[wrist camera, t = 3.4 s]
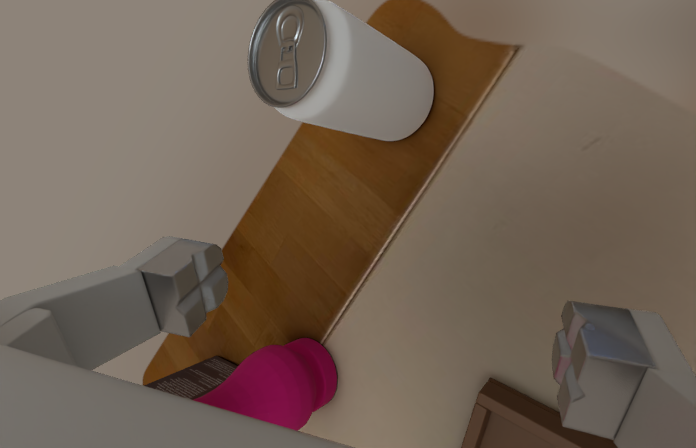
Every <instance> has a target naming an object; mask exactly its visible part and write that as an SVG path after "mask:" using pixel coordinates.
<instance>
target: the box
mask: <svg viewBox="0 0 696 448" xmlns="http://www.w3.org/2000/svg"><path fill="white" fill-rule="evenodd" d="M237 367H238V366H237V365H235V364H232V363H230V362H228V361H226V360H224V359H222V358H220V357H218V356H214V357H212V358H209V359H207V360H205V361H202V362H200V363H197V364H195V365H193V366H190V367H188V368H185V369H183V370H181V371H178V372H176V373H174V374H171V375H169V376H166V377H164V378H161V379H159V380H157V381H154V382H152V383H149V384H147V385H145V386H146V387H149V388H153V389H156V390H159V391H163V392H166V393H170V394H173V395H177V396H180V397H183V398H189V399H191V400H194V399H196V398H199V397H202V396H203V395H205V394H207V393H209V392H211V391H212V390H214V389H215V388H217V387H218V386H219V385H221V384H222V383H223V382H224V381H225V380H226V379H227V378H228V377H229V376H230V375H231V374H232V373H233V372H234V370H235V369H236V368H237Z"/></svg>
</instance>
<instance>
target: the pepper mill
mask: <svg viewBox="0 0 696 448" xmlns="http://www.w3.org/2000/svg"><path fill="white" fill-rule="evenodd" d="M336 387H337V374H336V368H335V365H334V362H333V360H332V358H331V356H330V354H329V353H328V352H327V350H326V349H325V348H324V347H323V346H322V345H321V344H320V343H318V342H317V341H315V340H313V339H310V338H300V339H297V340H295V341H293V342H290V343H288V344H286V345H284V346H281V345H269V346H266V347H263V348H261V349H259V350H258V351H256V352H254V353H252V354H251V355H250V356H248V357H247V358H246V359H245V360H244V361H243V362H242V363H241V364H240V365H239V366H238V367H237V368H236V369H235V370H234V372H233V373H232V374H231V375H230V376H229V377H228V378H227V379H226V380H225V381H224V382H223V383H222V384H221V385H219V386H218V387H217V388H215V389H214V390H212V391H211V392H209V393H207V394H205V395H203V396H202V397H199V398H196V399H194V401H197V402H200V403H204V404H207V405H211V406H214V407H218V408H221V409H224V410H228V411H231V412H235V413H238V414H242V415H245V416H248V417H252V418H255V419H259V420H262V421H265V422H269V423H272V424H276V425H279V426H283V427H286V428H289V429H293V430H296V431H297V430H299V429H300V428H302V427H303V426H304V425H305V424H306V423H307V421H308V420H309V418H310V416H311V414H312V412H314V411H316V410H317V409H319V408H321V407H322V406H324V405H325V404H327V403H328V402H329V401H330V400H331V399H332V397H333V396H334V393H335V391H336ZM187 399H189V398H187ZM190 400H191V399H190Z"/></svg>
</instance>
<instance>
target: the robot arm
mask: <svg viewBox="0 0 696 448" xmlns="http://www.w3.org/2000/svg"><path fill="white" fill-rule="evenodd" d="M223 260H224V258H223V254H222V250H221V248H220V247H219V246H217V245H215V244H210V243H205V242H199V241H193V240H188V239H182V238H176V237H163V238H161V239H159V240H158V241H156V242H155V243H153V244H152V245H150V246H149V247H147V248H146V249H145V250H143V251H142V252H140V253H139V254H137V255H136V256H134V257H133V258H131V259H130V260H128V261H127V262H125V263H124V264H122V265H121V266H119V267H118V266H112V267H108V268H105V269H102V270H98V271H95V272H91V273H88V274H85V275H81V276H78V277H75V278H71V279H68V280H64V281H61V282H57V283H54V284H51V285H47V286H44V287H41V288H37V289H34V290H30V291H27V292H24V293H20V294H17V295H14V296H10V297H7V298H4V299H3V300H1V301H0V448H354V447H351V446H348V445H344V444H341V443H337V442H334V441H330V440H327V439H324V438H320V437H317V436H313V435H310V434H306V433H303V432H300V431H296V430H293V429H289V428H286V427H283V426H279V425H276V424H272V423H269V422H265V421H262V420H259V419H255V418H252V417H248V416H245V415H242V414H238V413H235V412H231V411H228V410H224V409H221V408H218V407H214V406H211V405H207V404H204V403H200V402H197V401H194V400H190V399H187V398H183V397H180V396H177V395H173V394H170V393H166V392H163V391H159V390H156V389H153V388H149V387H146V386H142V385H139V384H135V383H132V382H128V381H125V380H122V379H118V378H115V377H111V376H108V375H105V374H101V373H98V372H94V371H91V370H93V369H95V368H96V367H99V366H100V365H102V364H104V363H106V362H108V361H110V360H111V359H113V358H115V357H117V356H119V355H121V354H122V353H124V352H126V351H128V350H130V349H132V348H134V347H135V346H137V345H139V344H141V343H143V342H145V341H146V340H148V339H150V338H152V337H154V336H156V335H158V334H159V333H160V331H162V332H167V333H172V334H177V335H182V336H187V337H190V336H191V335H192V334H193V333H194V332H195V331H196V330H197V329H198V328H199V327H200V326H201V325H202V323H203V322H204V321H205V320H206V313H207V312H209V311H211V310H214V309H216V308H217V307H218V306H219V305H220V304H221V303H222V302H223V300H224V298H225V296H226V293H227V291H228V278H227V273H226V272H225V271H224V270H223V268H222V267H221V266H220V265H221V263H222V262H223ZM561 317H562V322H563V326H564V328H563V329H562V330H560V331H559V332H557V333H556V336H555V340H554V344H553V352H552V370H553V377H554V379H555V381H556V382H557V383H558V384H559V385H560V389H559V392H558V395H557V400H558V405H559V411H560V416H561V421H562V426H563V427H566V428H570V429H574V430H578V431H582V432H585V433H589V434H593V435H597V436H600V437H604V438H608V439H612V440H614V443H615V445H616V446H617V447H618V448H696V376H695V374H694V373H693V371H692V369H691V367H690V366H689V364H688V362H687V360H686V359H685V357H684V355H683V354H682V352H681V350H680V348H679V347H678V345H677V343H676V341H675V340H674V338H673V336H672V335H671V333H670V331H669V329H668V328H667V326H666V324H665V323H664V321H663V319H662V317H661V316H660V315H659V314H657V313H656V312H650V311H642V310H635V309H627V308H625V309H623V308H616V307H609V306H602V305H595V304H588V303H581V302H575V301H567V303H566V304H565V306H564V309H563V312H562V315H561Z"/></svg>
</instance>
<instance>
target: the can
mask: <svg viewBox="0 0 696 448" xmlns="http://www.w3.org/2000/svg"><path fill="white" fill-rule="evenodd" d="M248 72H249V78H250V81H251V84H252V87H253V89H254V91H255V93H256V94H257V95H258V97H259V98H260V99H261V100H262V101H263V102H264V103H266V104H268V105H270V106H273V107H275V108H276V109H277V110H278V111H279V112H280V113H281V114H283V115H284V116H286V117H289V118H291V119H294V120H298V121H301V122H305V123H309V124H313V125H317V126H322V127H326V128H330V129H334V130H339V131H343V132H347V133H352V134H356V135H360V136H365V137H369V138H374V139H378V140H384V141H397V140H401V139H403V138H406V137H408V136H409V135H411V134H412V133H414V132H415V131H416V130H417V129H418V128H419V127H420V126H421V125H422V124H423V122H424V121H425V119H426V117H427V116H428V114H429V111H430V109H431V106H432V102H433V96H434V86H433V80H432V76H431V73H430V71H429V69H428V68H427V66H426V65H425V64H424V63H423V62H422V61H421V60H420V59H419V58H417V57H416V56H415V55H413V54H412V53H410V52H409V51H407V50H406V49H404V48H403V47H401V46H400V45H398V44H397V43H395V42H394V41H392V40H391V39H389V38H388V37H386V36H385V35H383V34H382V33H380V32H379V31H377V30H375V29H374V28H372V27H371V26H369V25H368V24H366V23H365V22H363V21H362V20H360V19H358V18H357V17H355V16H354V15H352V14H351V13H349V12H348V11H346V10H344V9H343V8H341V7H340V6H338V5H336V4H335V3H333V2H331V1H328V0H275V1H273V2H272V3H271V4H270V5H269V6H268V7H267V8H266V9H265V11H264V12H263V13H262V15H261V16H260V18H259V20H258V21H257V24H256V26H255V28H254V30H253V33H252V36H251V40H250V44H249V50H248Z"/></svg>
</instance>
